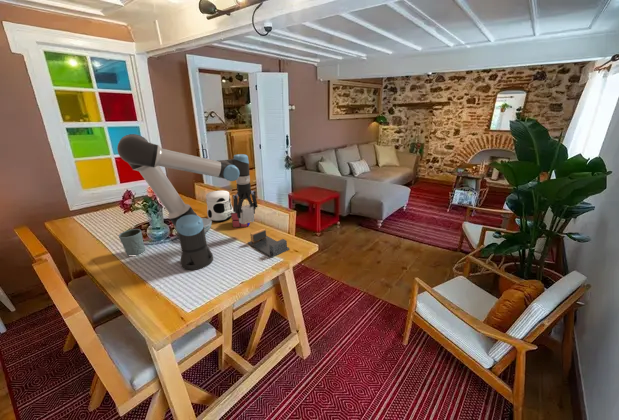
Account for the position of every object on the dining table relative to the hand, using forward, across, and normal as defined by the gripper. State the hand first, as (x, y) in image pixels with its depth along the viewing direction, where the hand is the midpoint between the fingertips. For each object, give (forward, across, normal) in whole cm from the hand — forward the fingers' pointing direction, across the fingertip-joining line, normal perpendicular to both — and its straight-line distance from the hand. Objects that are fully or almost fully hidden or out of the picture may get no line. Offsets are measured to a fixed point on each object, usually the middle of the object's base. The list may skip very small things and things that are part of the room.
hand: (246, 221), depth 158 cm
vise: (+10, +1, -19) cm, 22 cm away
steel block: (0, 0, 0) cm, 0 cm away
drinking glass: (+12, -53, +28) cm, 61 cm away
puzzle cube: (+10, +7, +19) cm, 22 cm away
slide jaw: (+8, +1, -10) cm, 13 cm away
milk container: (+10, +2, +39) cm, 40 cm away
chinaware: (+11, -19, +24) cm, 32 cm away
